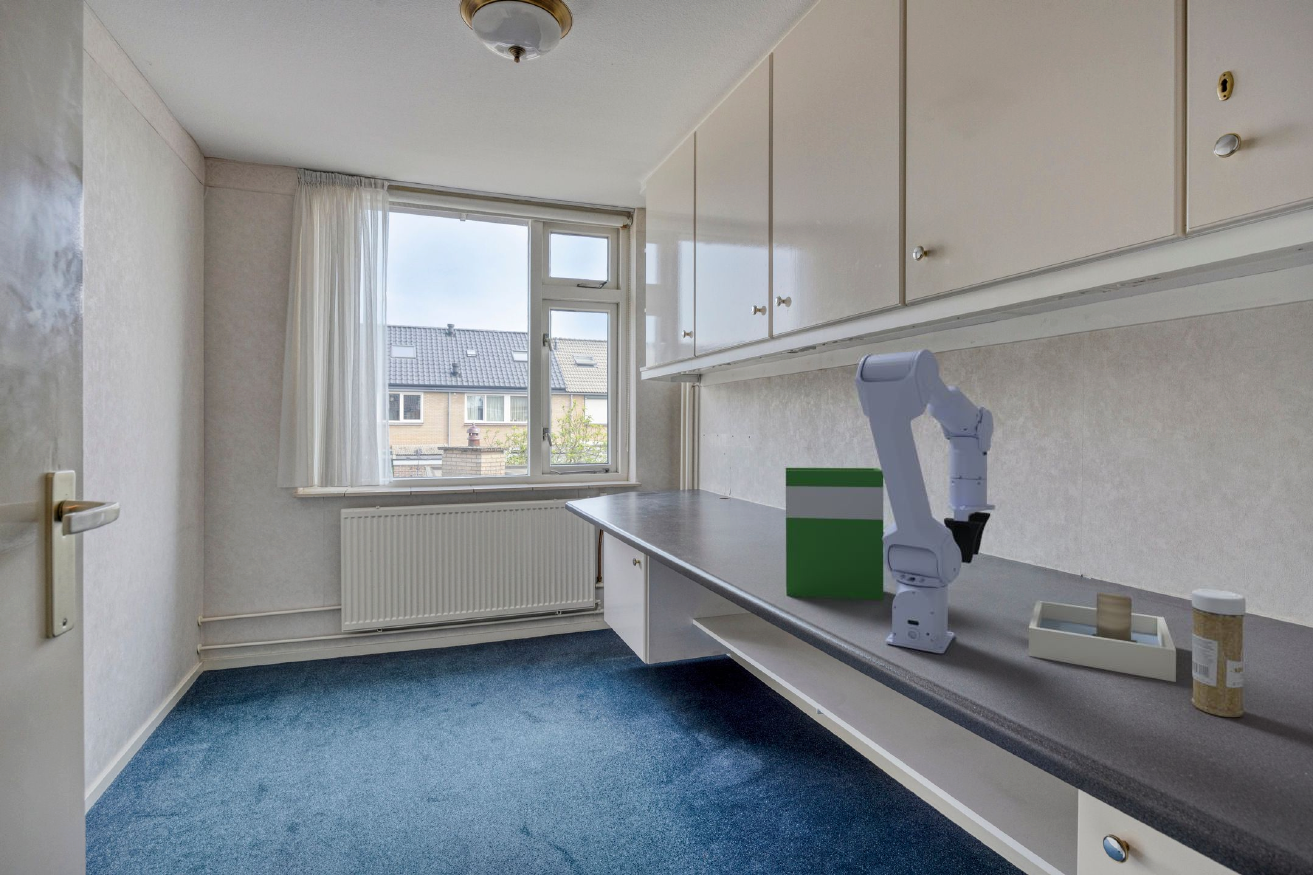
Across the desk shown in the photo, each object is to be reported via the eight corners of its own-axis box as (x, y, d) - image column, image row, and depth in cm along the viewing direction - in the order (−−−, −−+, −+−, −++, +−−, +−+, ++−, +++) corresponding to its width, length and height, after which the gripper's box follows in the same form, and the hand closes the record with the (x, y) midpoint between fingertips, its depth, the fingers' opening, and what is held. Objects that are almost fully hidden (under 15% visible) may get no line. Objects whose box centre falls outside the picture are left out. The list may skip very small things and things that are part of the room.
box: (1175, 681, 79) (1176, 650, 79) (1028, 655, 88) (1028, 627, 88) (1163, 644, 92) (1163, 617, 92) (1036, 624, 101) (1036, 600, 101)
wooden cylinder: (1129, 660, 86) (1130, 602, 86) (1094, 653, 89) (1095, 597, 88) (1132, 651, 89) (1132, 596, 89) (1098, 645, 92) (1098, 591, 92)
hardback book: (786, 595, 119) (785, 470, 119) (786, 585, 127) (785, 467, 126) (883, 599, 116) (883, 471, 115) (877, 589, 123) (877, 468, 123)
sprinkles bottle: (1252, 721, 68) (1254, 600, 68) (1200, 714, 70) (1202, 596, 70) (1231, 703, 73) (1233, 589, 72) (1183, 697, 74) (1184, 585, 74)
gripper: (988, 482, 97) (988, 569, 97) (999, 475, 109) (999, 552, 109) (939, 480, 101) (939, 563, 102) (955, 474, 113) (955, 548, 113)
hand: (967, 557), depth 106 cm, fingers open, 7 cm apart
